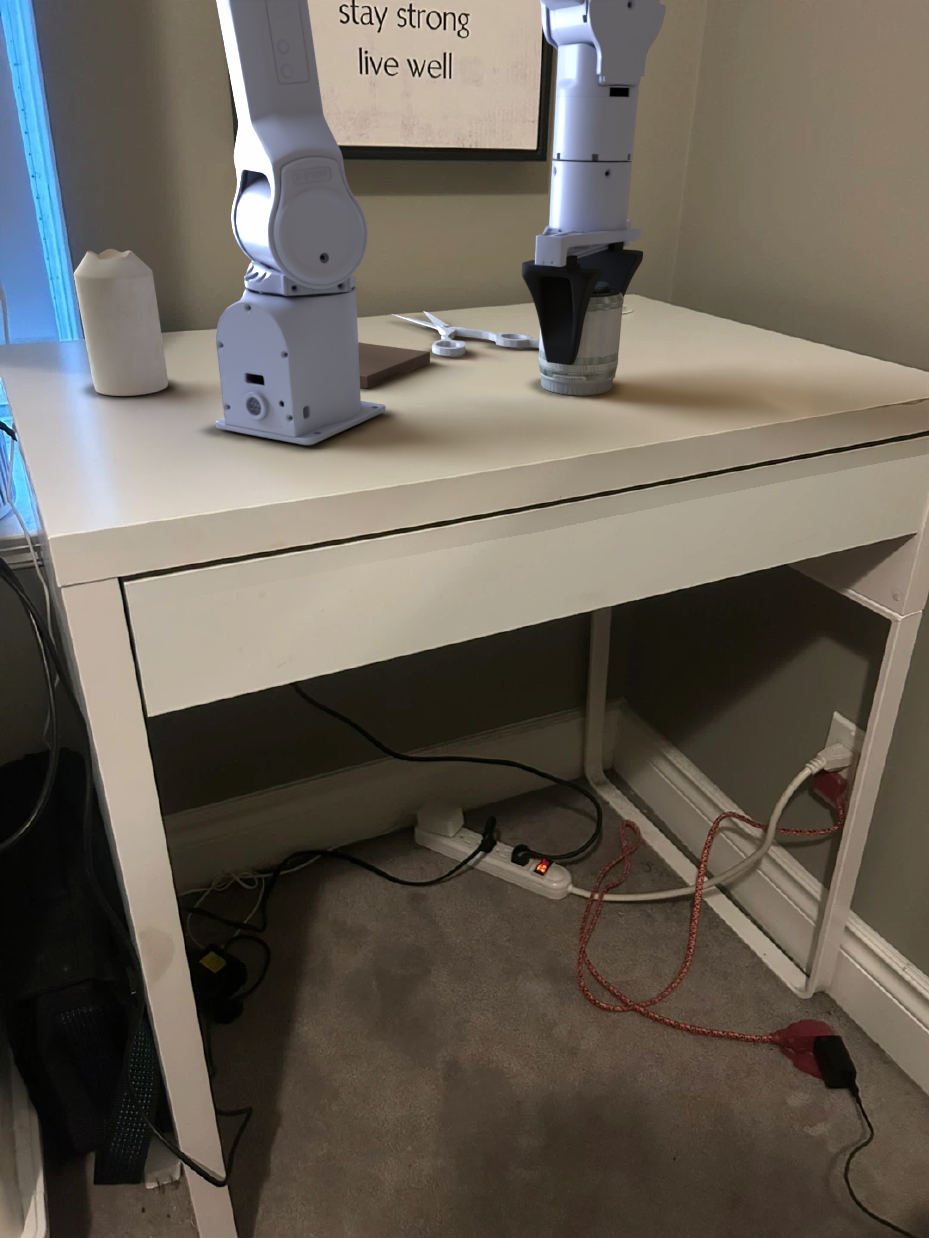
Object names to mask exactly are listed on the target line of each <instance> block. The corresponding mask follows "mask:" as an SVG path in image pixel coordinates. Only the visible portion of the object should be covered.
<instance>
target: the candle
mask: <svg viewBox="0 0 929 1238" xmlns="http://www.w3.org/2000/svg"><path fill="white" fill-rule="evenodd" d="M73 279H74V286H75V290H76V295H77V302H78V306H79V307H78V308H79V312H80V318H81V323H82V328H83V329H82V330H83V334H84V340H85V345H86V351H87V357H88V363H89V366H90V367H89V368H90V372H91V378H92V383H93V388H94V390H95V392H97V393H98V394H102V395H106V396H117V397H119V396H120V397H132V396H141V395H142V396H143V395H147V394H152V393H156V392H160V391H162V390H164V389H166V388H167V387H168V386H169V378H168V371H167V369H168V368H167V364H166V363H167V362H166V356H165V350H164V343H163V336H162V335H163V334H162V327H161V322H160V314H159V308H158V301H157V294H156V287H155V286H156V285H155V280H154V273H153V270H152V268H150V267H149V266H148V265H147V264H146V263H145V262H144V261H143V260H142V259H141V258H140V257H139V256H137V255H136V253H134V252H133V251H132V250H125V251H122V252H121V251H118V250H117V249H114V248H107V249H105V250H104V251H102V252H101V253H99V254H97V253H95V252H94V251H92V250H87V251H86V253H85V255H84V257H83V258H82V260H81V261H80V263H79V265H78V266H77V268H76V269H75V271H74V272H73Z"/></svg>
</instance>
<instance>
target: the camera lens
mask: <svg viewBox="0 0 929 1238" xmlns="http://www.w3.org/2000/svg"><path fill="white" fill-rule="evenodd" d="M624 299H625V297H624V298H623V296H622V293H621V292H620V291H619V290H618V289H617V288H615V287H612V286H610V284H609V283H606V282H600V281H598V282H597V284H596V286H595V288H594V291H593V293H592V296H591V298H590V301H589V304H588V307H587V311H586V315H585V319H584V324H583V329H582V335H581V341H580V346H579V351H578V354H577V357H576V360H575V363H574V364H572V365H564V364H556V363H548V362H547V361H546V357H545V352H544V347H543V341H542V335H541V329H540V328H539V340H540V341H539V348H538V370H539V376H540V384H541V387H542V388H543V389H544V390H546V391H548V392H552V393H555V394H560V395H567V396H579V397H581V396H595V395H601V394H605V393H608V392H609V391H611V390H612V388H613V383H614V379H615V378H616V374H617V369H618V365H619V351H620V342H621V331H622V330H621V329H622V321H623V320H622V319H623V307H624V301H625V300H624Z"/></svg>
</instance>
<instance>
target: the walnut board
mask: <svg viewBox="0 0 929 1238" xmlns="http://www.w3.org/2000/svg"><path fill="white" fill-rule="evenodd" d="M358 349H359V373H360V389H367V390H368V389H370V388H372V387H375V386H377V385H378V386H379V385H381V384H382V383H384V382H387V381H390V380H392V379H395V378H397V377H399V376H403V375H405V374H406V373H409V372H412V371H414V370H416V369H419V368H422V367H424V366H426V365H429V364H431V351H426V350H425V351H424V350H419V349H412V348H403V347H396V346H389V345H380V344H375V343H374V344H373V343H367V342H359V341H358Z"/></svg>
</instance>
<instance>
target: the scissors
mask: <svg viewBox="0 0 929 1238" xmlns="http://www.w3.org/2000/svg"><path fill="white" fill-rule="evenodd" d="M422 312H423V313H424V314H425V315H426V317H427V318H428V319H429V321H431V322H429V321H424V320H420V319H416V318H412V317H407V316H402V315H398V314H394V313H391V315H393V316H395V317H398V318H401V319H403V320H406V321H409V322H412V323H415V324H419V325H422V326H424V327H428V328H432V329H435V330H436V331H438V333H439V335H440V337H441V339H438V340H434V341H433V342H432V344H431V351H432V354H435V355H437V356H443V357H458V356H463V355H465V354H466V343H465V341H462V340H455V339H454V338H456V337H463V338H476V339H484V340H489V341H492V342H495V345H496V346H500V347H508V348H527V347H529V348H537V349H539V341H540V338H539V339H538V338H533V337H532V336H530V335H528V334H525V333H521V332H520V333H518V332H497V331H496V332H495V331H489V330H481V329H470V328H467V327H463V326H450V325H449V324H447V323H445V322H444V321H443V320H441V319H439V318H438V317H436V316H435V315H433V314H431V313H429V312H427V311H425V310H423V311H422Z"/></svg>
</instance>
